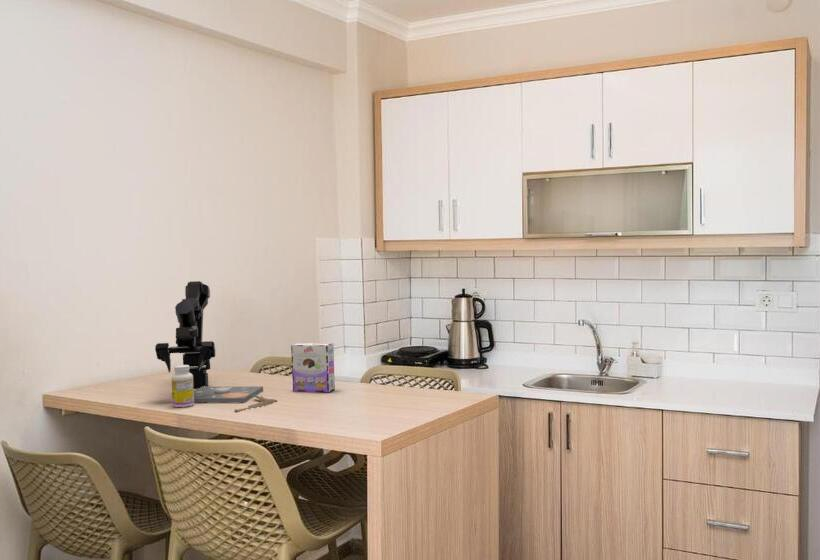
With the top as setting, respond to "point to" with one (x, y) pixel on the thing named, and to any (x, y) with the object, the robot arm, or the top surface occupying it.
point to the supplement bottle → (182, 387)
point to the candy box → (313, 367)
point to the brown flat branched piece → (262, 403)
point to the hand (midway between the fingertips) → (183, 370)
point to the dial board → (225, 394)
